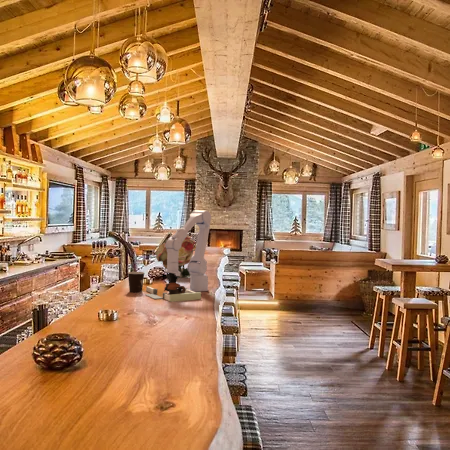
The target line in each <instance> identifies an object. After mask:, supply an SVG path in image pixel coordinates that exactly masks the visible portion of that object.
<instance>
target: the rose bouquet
mask: <svg viewBox="0 0 450 450" xmlns="http://www.w3.org/2000/svg"><path fill="white" fill-rule="evenodd" d="M192 237H193V235H192V234H191V235H189V234H188V235H187V237H186V238H185V239H184V241H183V242H182V245H181V248H180V249H179V257H178V271H179V272H180V276H179V277H178V279H182V278H183V279H185V278H187V279H188V278H190V274H189V271H188V269H187V267H186V268H185V266H186V265H188V264H189V262H190V259H191V258H192V257H193V256H194V252H195V249H196V244H197V241H195V240H194V239H191V238H192ZM165 244H166V242H163V243H162V244H160V245H159V246H158V248H156V251H154V255H155V256H156V257H155V258H156V260H157V262H158V263H160V265H161V264H162V265H163V268H165V269H167V249H166V247H165Z"/></svg>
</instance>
